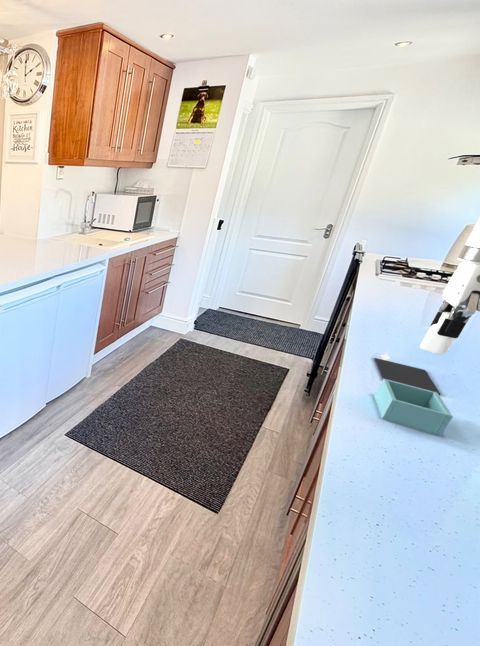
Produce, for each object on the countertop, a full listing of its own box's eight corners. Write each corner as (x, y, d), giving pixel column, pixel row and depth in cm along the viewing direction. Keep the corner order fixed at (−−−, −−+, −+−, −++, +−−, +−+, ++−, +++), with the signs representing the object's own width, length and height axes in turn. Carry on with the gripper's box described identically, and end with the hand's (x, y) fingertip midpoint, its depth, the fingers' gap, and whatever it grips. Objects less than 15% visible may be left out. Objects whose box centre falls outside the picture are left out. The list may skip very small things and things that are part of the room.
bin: (426, 410, 98) (437, 392, 96) (440, 436, 89) (453, 416, 87) (374, 396, 103) (383, 378, 101) (381, 418, 94) (392, 399, 92)
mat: (424, 371, 118) (425, 369, 118) (439, 395, 105) (440, 394, 105) (374, 358, 124) (374, 357, 124) (383, 380, 111) (383, 379, 111)
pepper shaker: (447, 353, 96) (468, 316, 92) (441, 356, 94) (462, 318, 90) (424, 346, 99) (443, 310, 95) (417, 348, 97) (437, 312, 93)
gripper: (530, 267, 79) (480, 349, 86) (495, 253, 92) (454, 326, 99) (474, 260, 83) (430, 339, 90) (448, 248, 96) (411, 318, 103)
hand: (443, 331), depth 94 cm, fingers closed on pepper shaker, 4 cm apart
